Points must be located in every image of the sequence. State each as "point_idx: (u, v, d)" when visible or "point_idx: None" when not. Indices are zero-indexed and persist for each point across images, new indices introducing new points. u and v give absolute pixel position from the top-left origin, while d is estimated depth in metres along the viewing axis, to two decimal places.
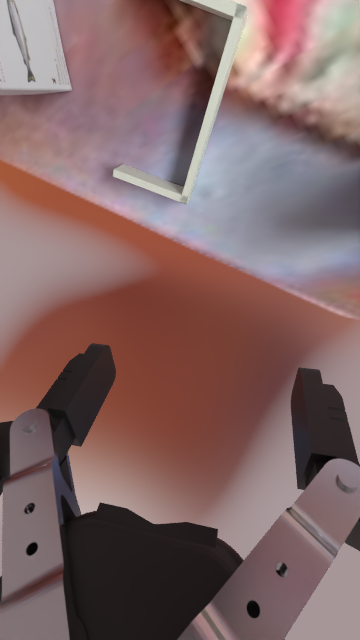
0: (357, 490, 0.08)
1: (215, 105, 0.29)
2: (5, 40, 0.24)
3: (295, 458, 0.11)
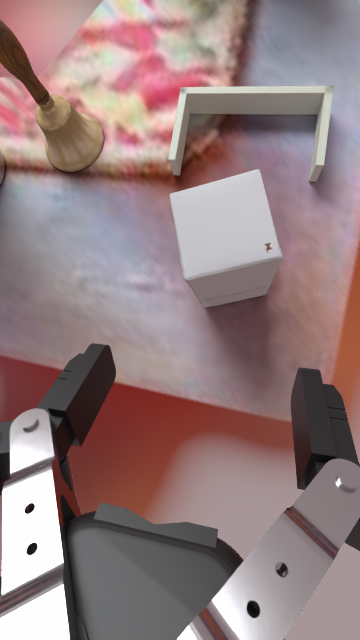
0: (357, 490, 0.08)
1: (240, 87, 0.34)
2: None
3: (295, 458, 0.11)
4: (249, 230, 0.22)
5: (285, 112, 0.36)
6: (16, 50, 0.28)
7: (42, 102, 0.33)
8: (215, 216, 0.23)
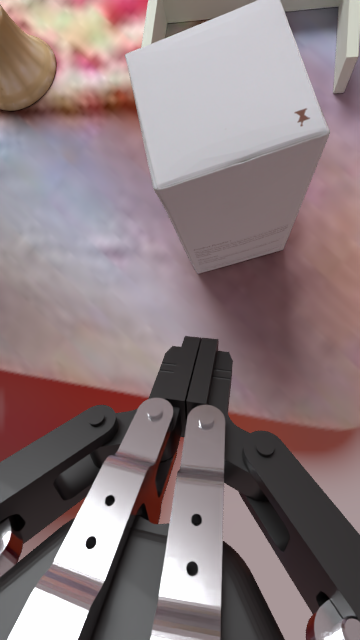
0: (211, 427, 0.09)
1: None
2: None
3: None
4: (265, 92, 0.12)
5: (294, 7, 0.26)
6: None
7: None
8: (203, 78, 0.13)
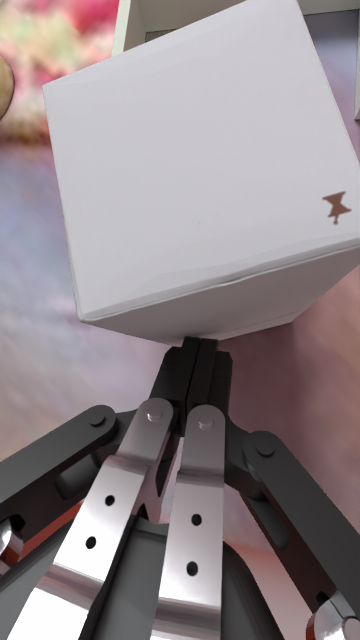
0: (211, 427, 0.09)
1: None
2: None
3: None
4: (269, 158, 0.07)
5: (303, 10, 0.21)
6: None
7: None
8: (163, 129, 0.08)
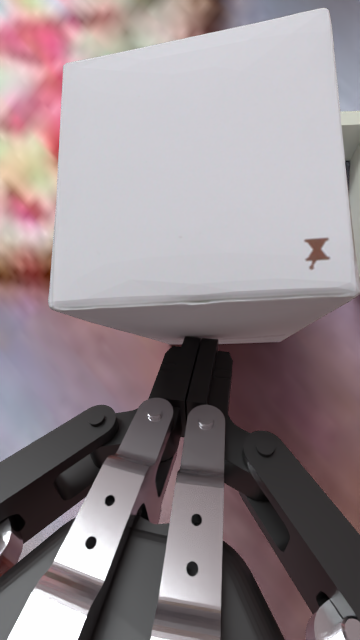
0: (211, 427, 0.09)
1: None
2: None
3: None
4: (263, 188, 0.07)
5: None
6: None
7: None
8: (168, 135, 0.07)
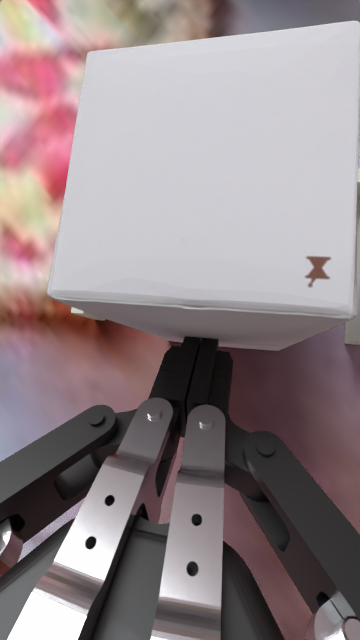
0: (211, 427, 0.09)
1: None
2: None
3: None
4: (272, 200, 0.07)
5: None
6: None
7: None
8: (183, 135, 0.07)
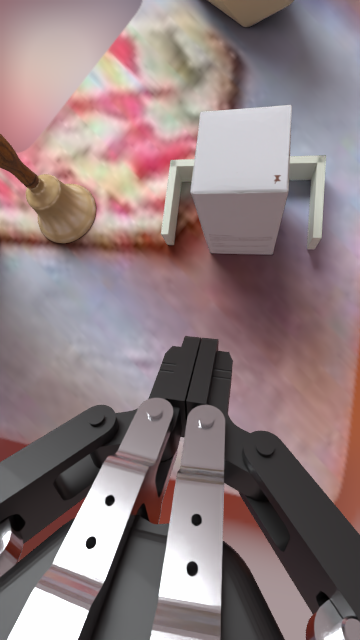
0: (211, 427, 0.09)
1: None
2: None
3: None
4: (264, 159, 0.23)
5: None
6: (2, 148, 0.28)
7: (31, 186, 0.33)
8: (236, 140, 0.23)
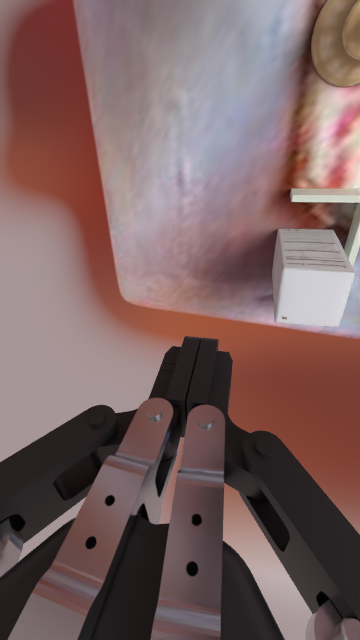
0: (211, 426, 0.09)
1: (356, 251, 0.39)
2: None
3: None
4: (299, 312, 0.35)
5: None
6: None
7: None
8: (319, 297, 0.33)
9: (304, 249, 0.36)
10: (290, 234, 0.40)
